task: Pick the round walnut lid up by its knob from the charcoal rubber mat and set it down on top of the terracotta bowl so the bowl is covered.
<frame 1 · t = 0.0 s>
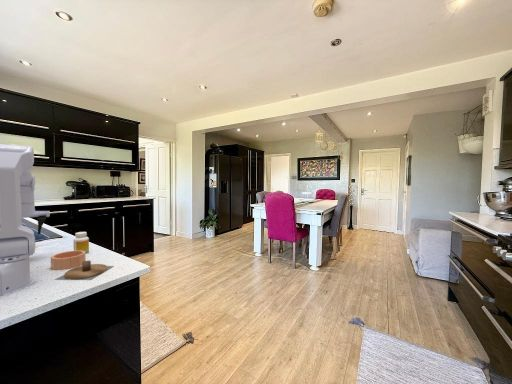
hand: (26, 234, 92), 11 cm above the countertop, tool pointing down, fingers open, 7 cm apart
bowl: (69, 266, 86), on the countertop
mat: (86, 273, 79), on the countertop
supplement bottle: (81, 254, 100), on the countertop
lid: (86, 272, 79), resting on mat
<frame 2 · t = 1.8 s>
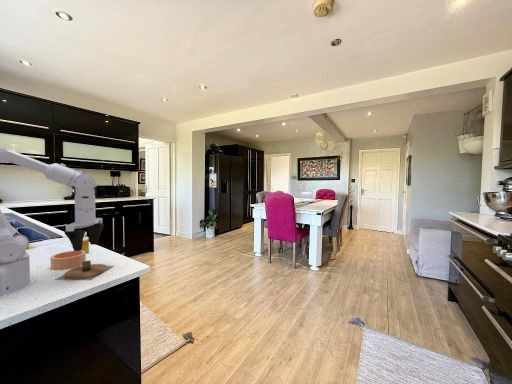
hand: (86, 247, 79), 9 cm above the countertop, tool pointing down, fingers open, 7 cm apart
nothing on the countertop moved.
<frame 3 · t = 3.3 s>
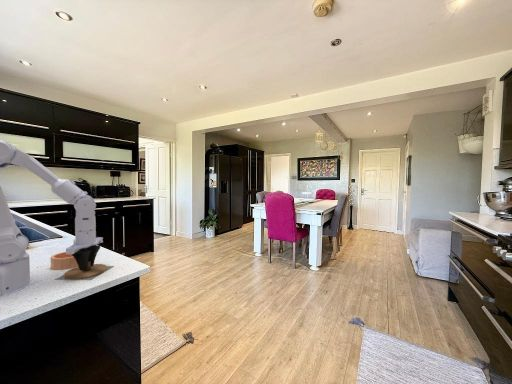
hand: (86, 268, 79), 2 cm above the countertop, tool pointing down, fingers closed on lid, 2 cm apart
lid: (86, 272, 79), resting on mat, touching gripper
everything else where it was.
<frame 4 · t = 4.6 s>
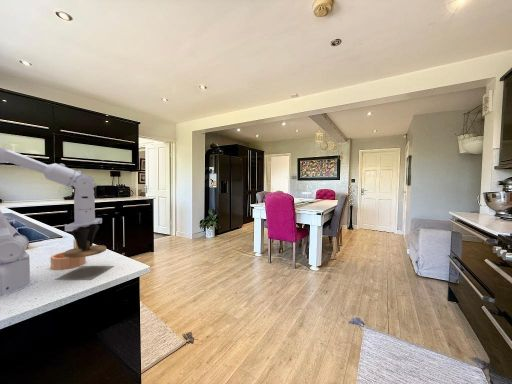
hand: (85, 247, 79), 9 cm above the countertop, tool pointing down, fingers closed on lid, 2 cm apart
lid: (85, 252, 79), point 8 cm above the countertop, touching gripper
everything else where it was.
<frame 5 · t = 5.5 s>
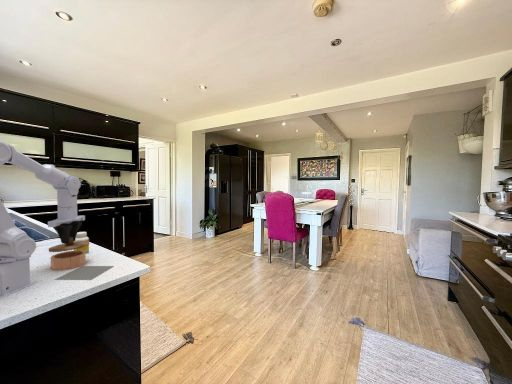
hand: (68, 242, 86), 9 cm above the countertop, tool pointing down, fingers closed on lid, 2 cm apart
lid: (69, 247, 86), point 7 cm above the countertop, touching gripper
everything else where it was.
when the fingers open (7 cm above the countertop, at t = 6.0 s): lid stays where it is, resting on bowl.
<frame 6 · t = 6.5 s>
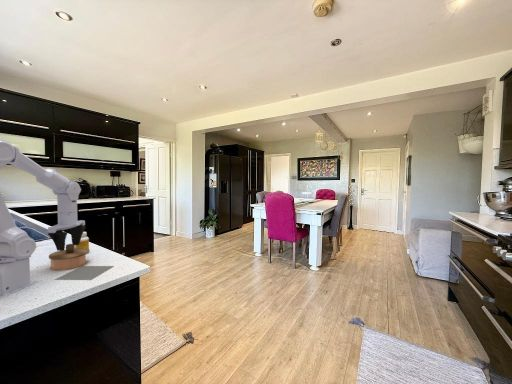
hand: (68, 247, 86), 7 cm above the countertop, tool pointing down, fingers open, 6 cm apart
lid: (70, 254, 86), point 4 cm above the countertop, touching bowl
everything else where it was.
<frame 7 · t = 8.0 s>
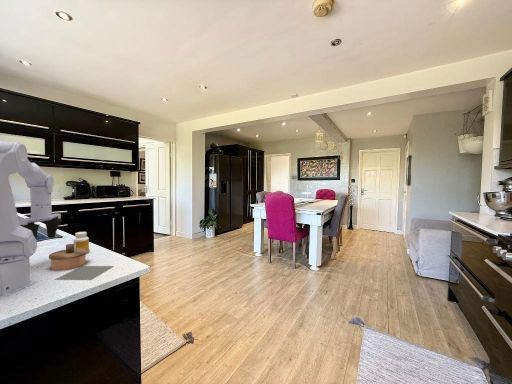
hand: (42, 240, 86), 10 cm above the countertop, tool pointing down, fingers open, 7 cm apart
nothing on the countertop moved.
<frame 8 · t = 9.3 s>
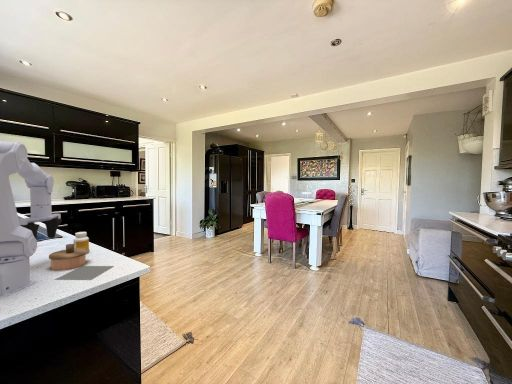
hand: (42, 240, 86), 10 cm above the countertop, tool pointing down, fingers open, 7 cm apart
nothing on the countertop moved.
at the end: lid 0.5 cm off-centre on the bowl, point 4.5 cm above the bowl's base; lid tilted 0°; the gripper is holding nothing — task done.
